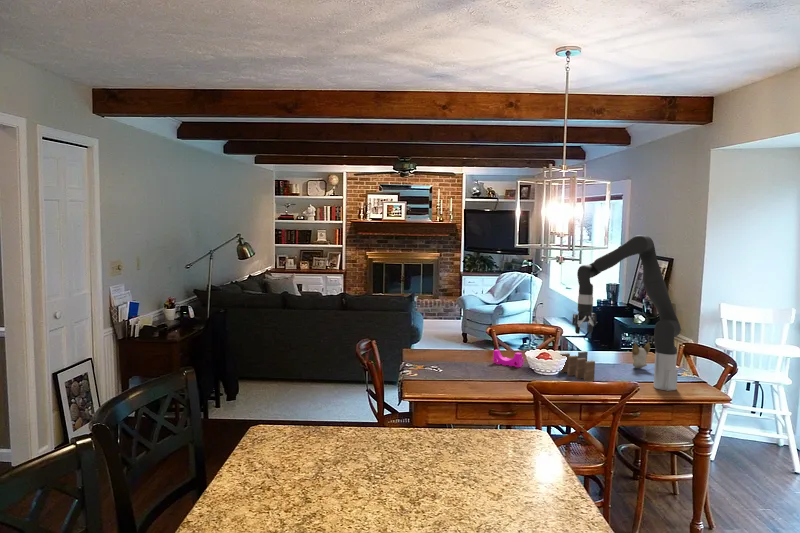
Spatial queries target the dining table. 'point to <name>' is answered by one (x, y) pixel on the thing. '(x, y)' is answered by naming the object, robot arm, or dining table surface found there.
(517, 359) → the toy block
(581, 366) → the walnut domino
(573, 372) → the walnut domino
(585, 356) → the black domino
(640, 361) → the ceramic sculpture
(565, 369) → the walnut domino
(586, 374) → the walnut domino
